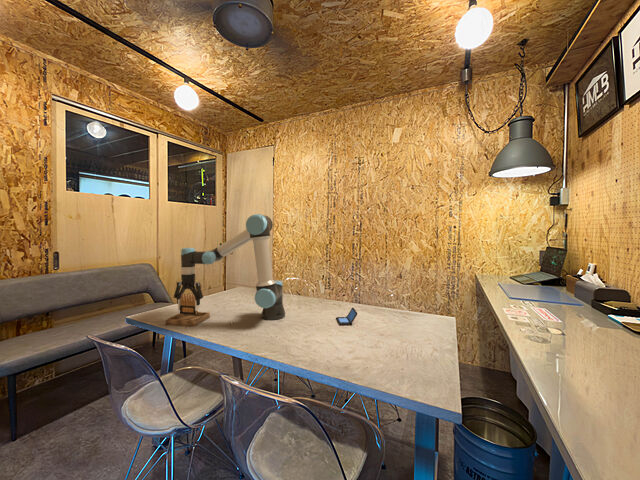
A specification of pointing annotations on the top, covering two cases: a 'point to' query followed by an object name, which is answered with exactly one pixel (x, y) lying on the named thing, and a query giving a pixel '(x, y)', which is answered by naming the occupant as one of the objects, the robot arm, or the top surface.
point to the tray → (188, 319)
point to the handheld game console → (347, 318)
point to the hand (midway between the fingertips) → (188, 309)
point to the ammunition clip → (188, 305)
